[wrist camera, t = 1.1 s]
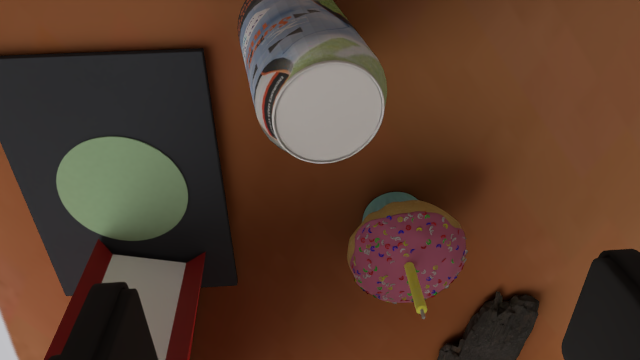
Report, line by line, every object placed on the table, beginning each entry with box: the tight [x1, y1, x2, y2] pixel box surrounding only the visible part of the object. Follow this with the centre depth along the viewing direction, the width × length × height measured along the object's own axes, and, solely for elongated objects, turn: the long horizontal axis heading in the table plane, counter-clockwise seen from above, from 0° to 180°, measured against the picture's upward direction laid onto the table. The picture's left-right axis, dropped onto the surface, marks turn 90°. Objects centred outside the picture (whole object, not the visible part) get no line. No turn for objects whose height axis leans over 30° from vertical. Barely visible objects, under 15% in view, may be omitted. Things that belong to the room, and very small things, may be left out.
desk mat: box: [0, 48, 238, 296], centre depth 35 cm, size 20×14×1 cm
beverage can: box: [238, 0, 387, 164], centre depth 25 cm, size 6×7×12 cm
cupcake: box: [347, 192, 468, 319], centre depth 34 cm, size 9×8×12 cm
